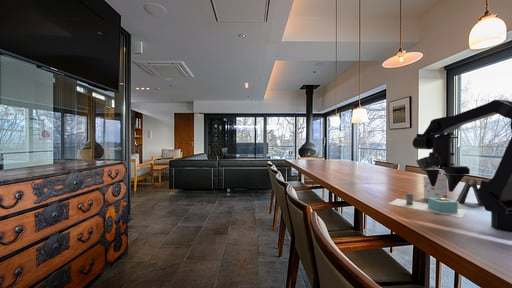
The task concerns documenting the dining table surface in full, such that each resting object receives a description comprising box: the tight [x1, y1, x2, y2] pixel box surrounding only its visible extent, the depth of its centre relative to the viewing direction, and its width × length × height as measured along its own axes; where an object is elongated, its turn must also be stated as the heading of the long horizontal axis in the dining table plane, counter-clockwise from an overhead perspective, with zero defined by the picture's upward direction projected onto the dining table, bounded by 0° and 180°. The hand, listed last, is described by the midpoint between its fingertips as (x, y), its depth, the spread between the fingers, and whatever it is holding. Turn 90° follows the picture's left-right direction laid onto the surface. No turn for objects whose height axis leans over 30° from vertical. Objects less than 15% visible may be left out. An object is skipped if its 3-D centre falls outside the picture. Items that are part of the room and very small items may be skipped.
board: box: [388, 192, 467, 218], centre depth 91 cm, size 12×24×6 cm, turn 41°
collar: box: [427, 198, 459, 213], centre depth 87 cm, size 6×6×4 cm
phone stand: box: [456, 176, 484, 207], centre depth 95 cm, size 9×6×12 cm, turn 53°
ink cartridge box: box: [423, 169, 448, 200], centre depth 103 cm, size 9×5×15 cm, turn 105°
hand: (441, 188), depth 87 cm, fingers open, 9 cm apart
